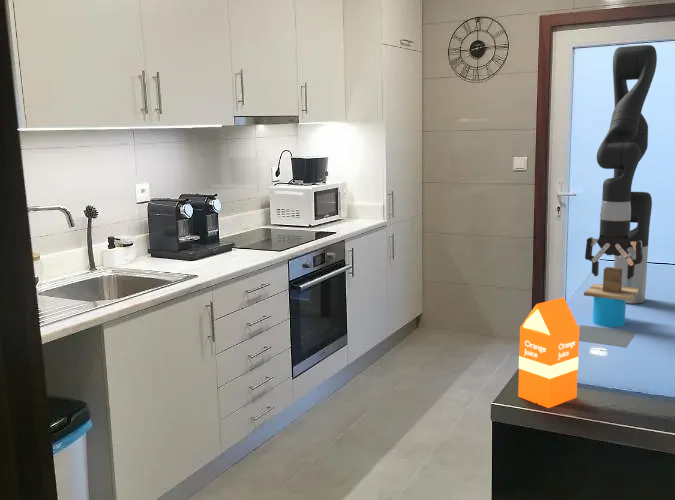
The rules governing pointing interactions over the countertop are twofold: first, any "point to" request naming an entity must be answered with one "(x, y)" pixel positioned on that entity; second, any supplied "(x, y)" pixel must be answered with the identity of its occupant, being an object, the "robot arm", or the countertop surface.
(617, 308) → the mug
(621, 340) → the rubber mat
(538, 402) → the orange juice
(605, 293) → the oak lid
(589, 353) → the countertop surface
